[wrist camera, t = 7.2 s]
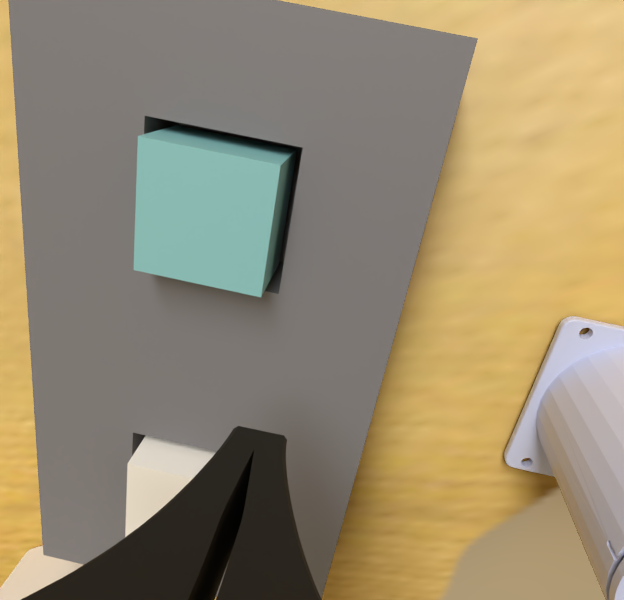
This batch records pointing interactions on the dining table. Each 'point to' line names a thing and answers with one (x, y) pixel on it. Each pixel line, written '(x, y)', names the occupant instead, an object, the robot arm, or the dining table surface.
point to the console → (204, 299)
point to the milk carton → (35, 574)
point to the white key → (159, 476)
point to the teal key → (211, 208)
